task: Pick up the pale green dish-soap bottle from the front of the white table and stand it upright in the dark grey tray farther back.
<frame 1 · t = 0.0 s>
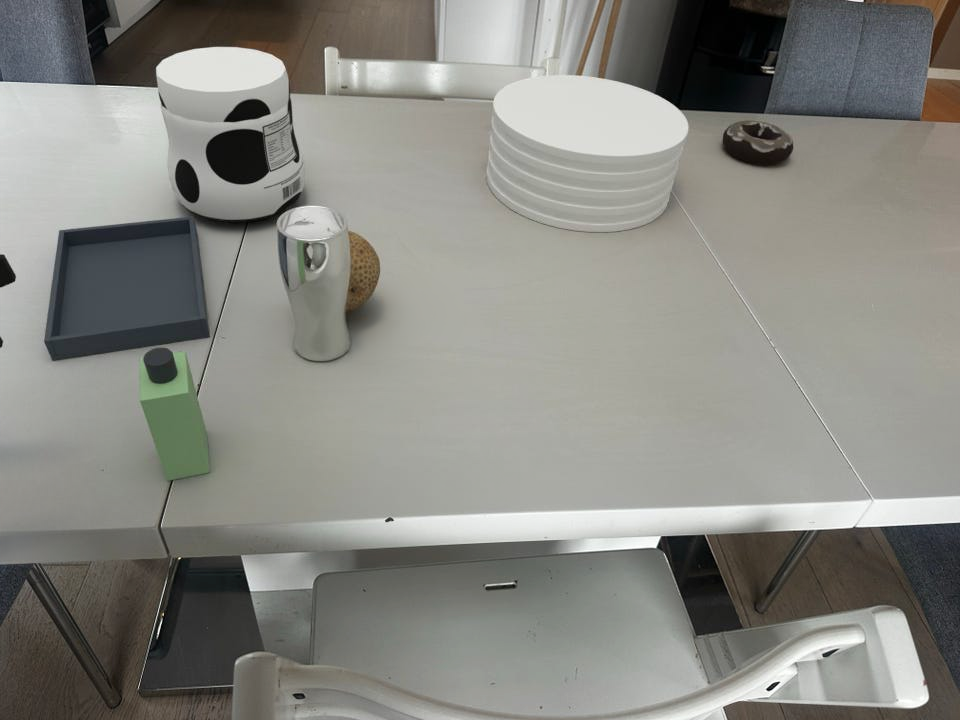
hand: (3, 298, 49), 19 cm above the table, tool horizontal, fingers open, 7 cm apart
detergent bottle: (187, 455, 64), on the table
plate stack: (576, 185, 109), on the table
dark grey tray: (133, 290, 81), on the table
beer glass: (322, 344, 77), on the table, touching natural sponge
milk container: (243, 201, 98), on the table
donut: (753, 154, 123), on the table
natural sponge: (341, 313, 81), on the table, touching beer glass
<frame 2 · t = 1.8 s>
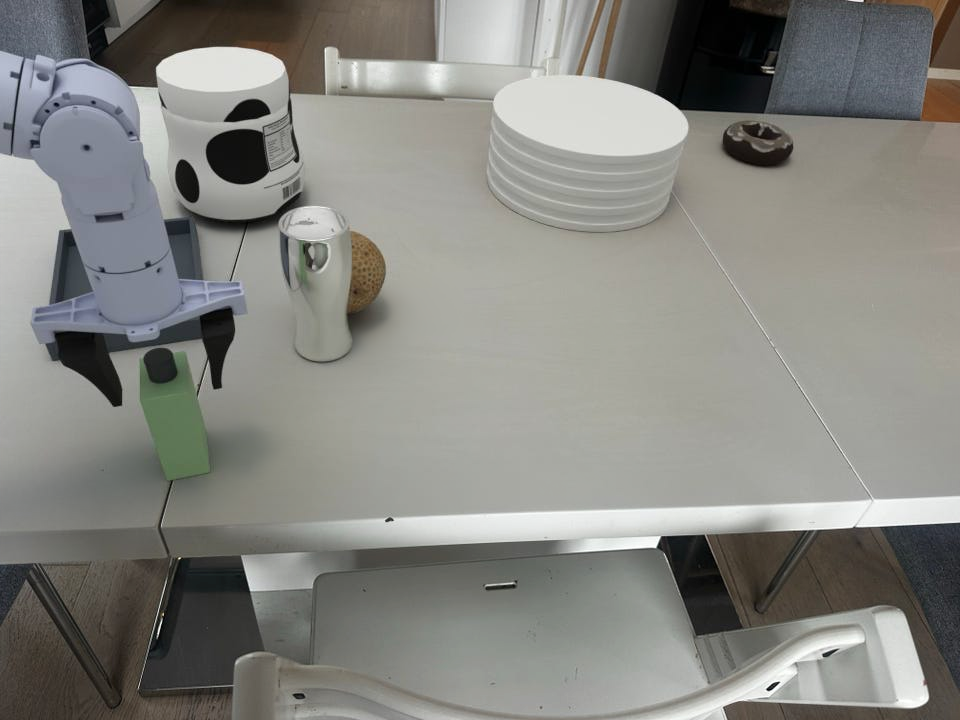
hand: (168, 389, 59), 8 cm above the table, tool pointing down, fingers open, 7 cm apart
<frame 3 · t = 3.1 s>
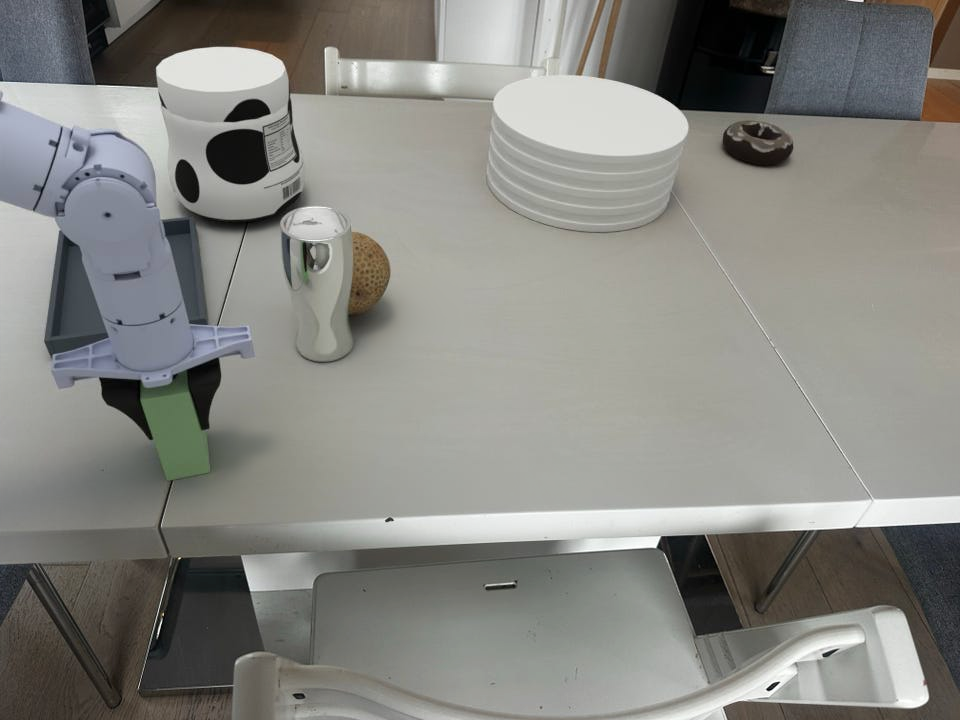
hand: (178, 426, 62), 4 cm above the table, tool pointing down, fingers closed on detergent bottle, 3 cm apart
detergent bottle: (187, 455, 64), on the table, touching gripper
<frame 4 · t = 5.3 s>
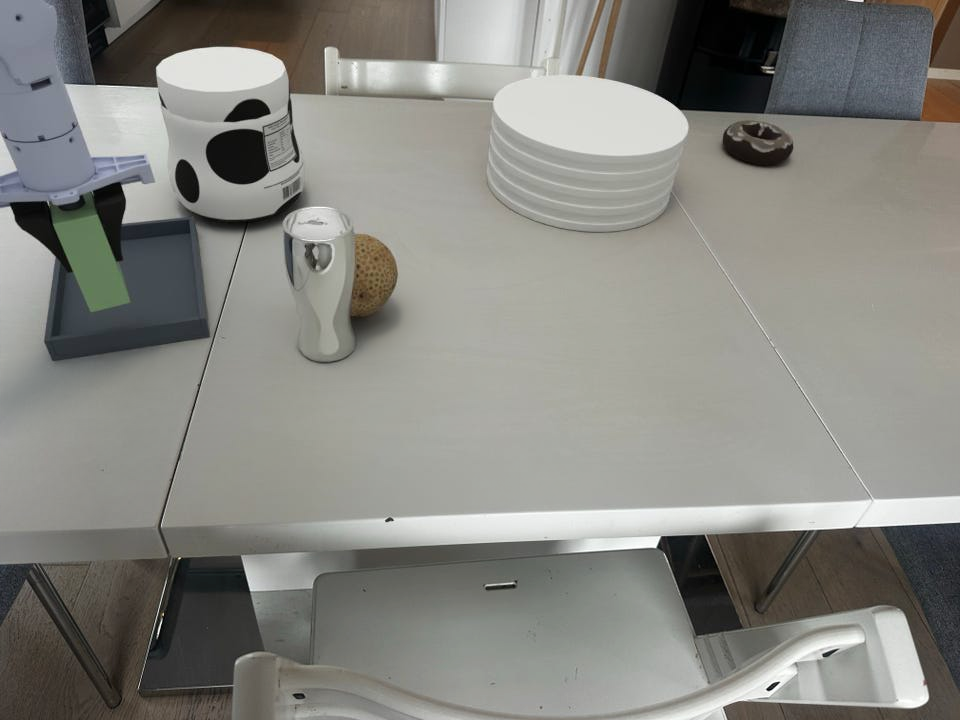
hand: (94, 261, 68), 10 cm above the table, tool pointing down, fingers closed on detergent bottle, 3 cm apart
detergent bottle: (107, 292, 70), point 7 cm above the table, touching gripper
natural sponge: (357, 317, 81), on the table, touching beer glass
everything else where it was.
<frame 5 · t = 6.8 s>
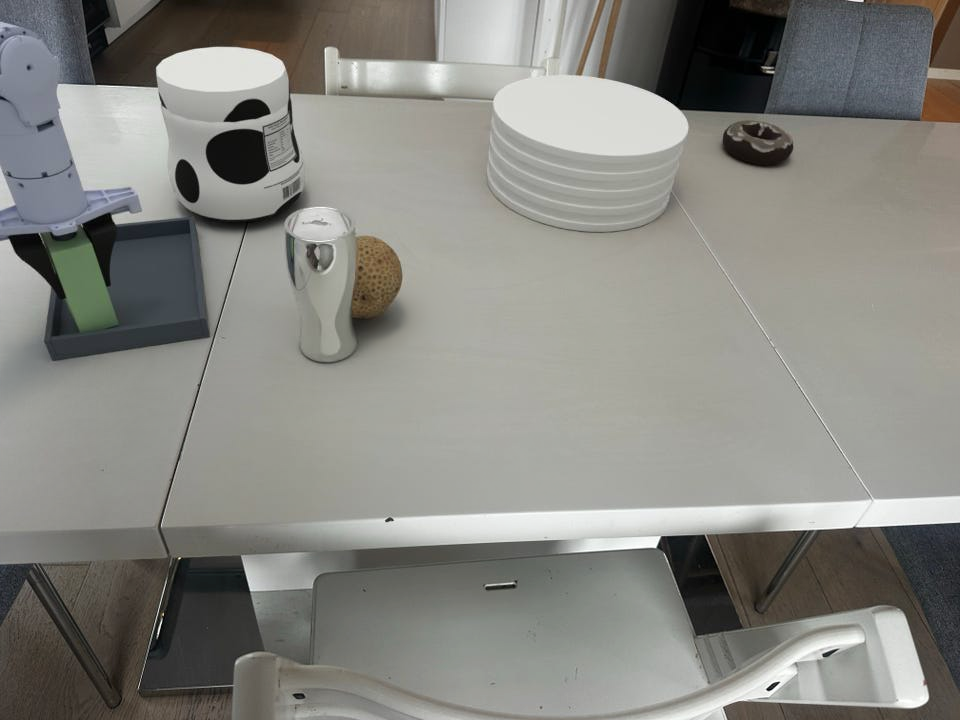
hand: (82, 287, 72), 6 cm above the table, tool pointing down, fingers closed on detergent bottle, 3 cm apart
detergent bottle: (93, 317, 75), point 2 cm above the table, touching gripper
natural sponge: (361, 318, 81), on the table, touching beer glass
when the fingers open (4 cm above the table, at t = 7.5 s): detergent bottle stays where it is, resting on dark grey tray.
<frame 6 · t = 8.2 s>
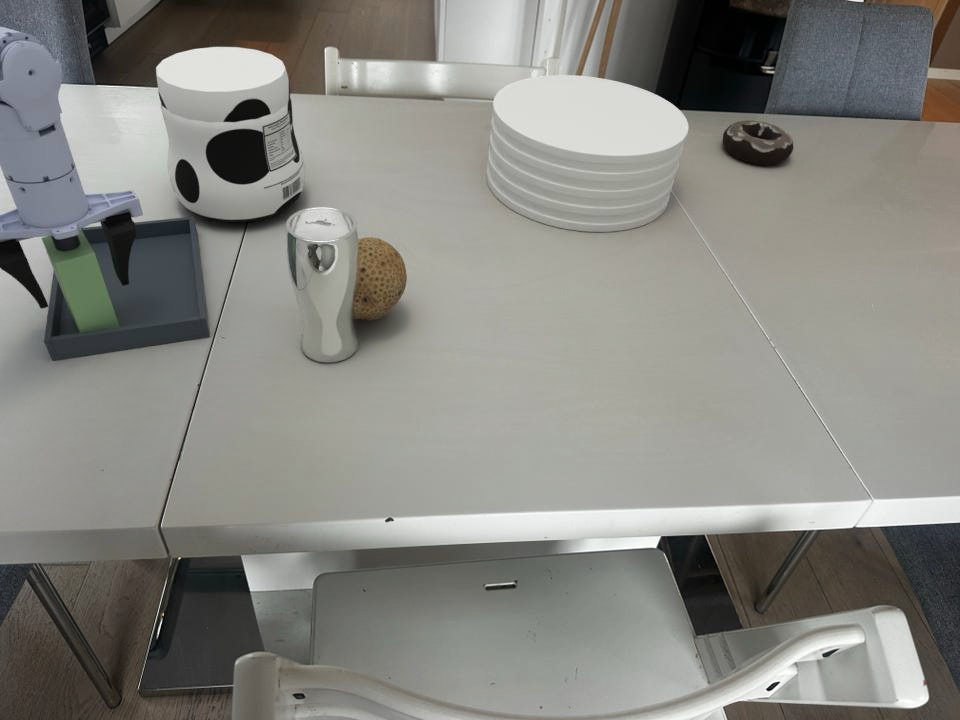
hand: (84, 291, 73), 5 cm above the table, tool pointing down, fingers open, 7 cm apart
detergent bottle: (96, 325, 76), point 1 cm above the table, touching dark grey tray
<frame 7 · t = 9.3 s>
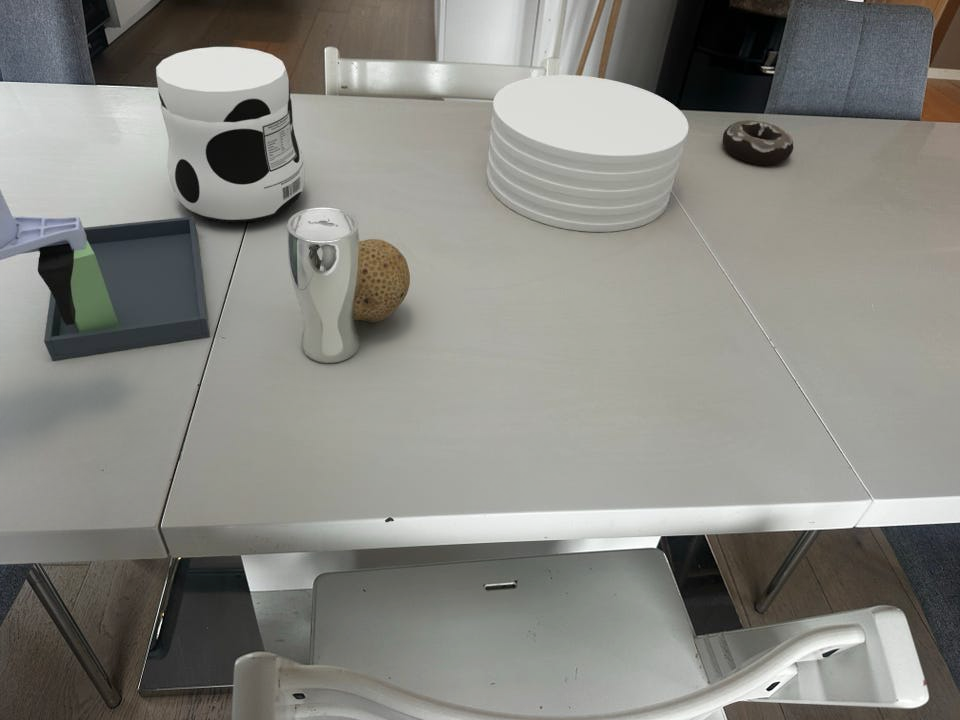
hand: (22, 326, 62), 9 cm above the table, tool pointing down, fingers open, 7 cm apart
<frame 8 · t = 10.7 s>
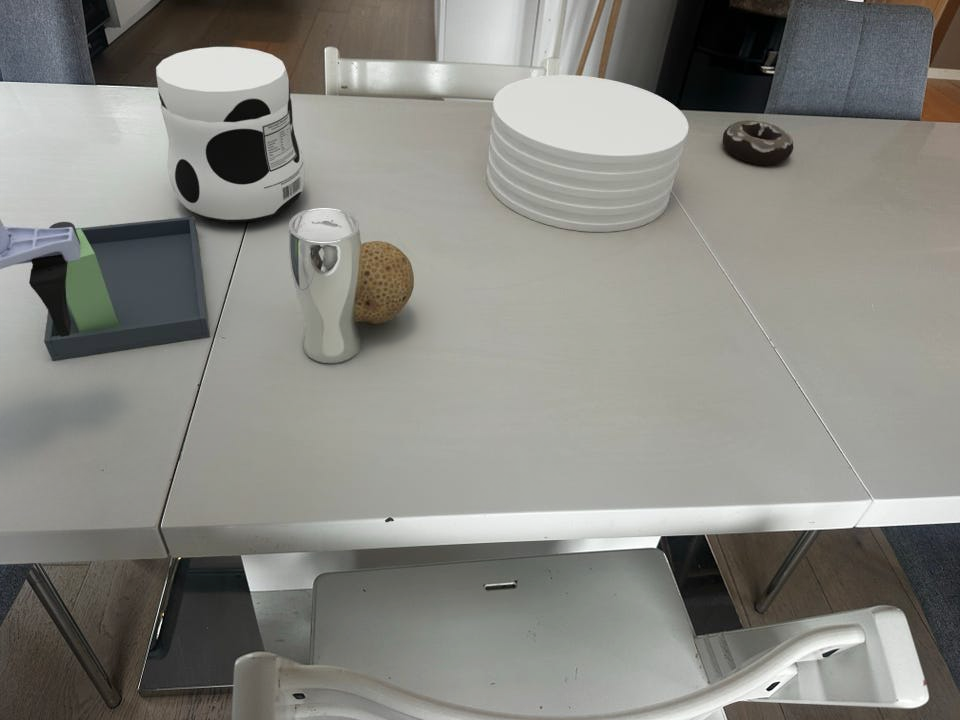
hand: (16, 337, 60), 9 cm above the table, tool pointing down, fingers open, 7 cm apart
at the end: detergent bottle inside the target area in the dark grey tray (7.4 cm from its centre), point 0.6 cm above the dark grey tray's base; detergent bottle tilted 0°; the gripper is holding nothing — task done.
